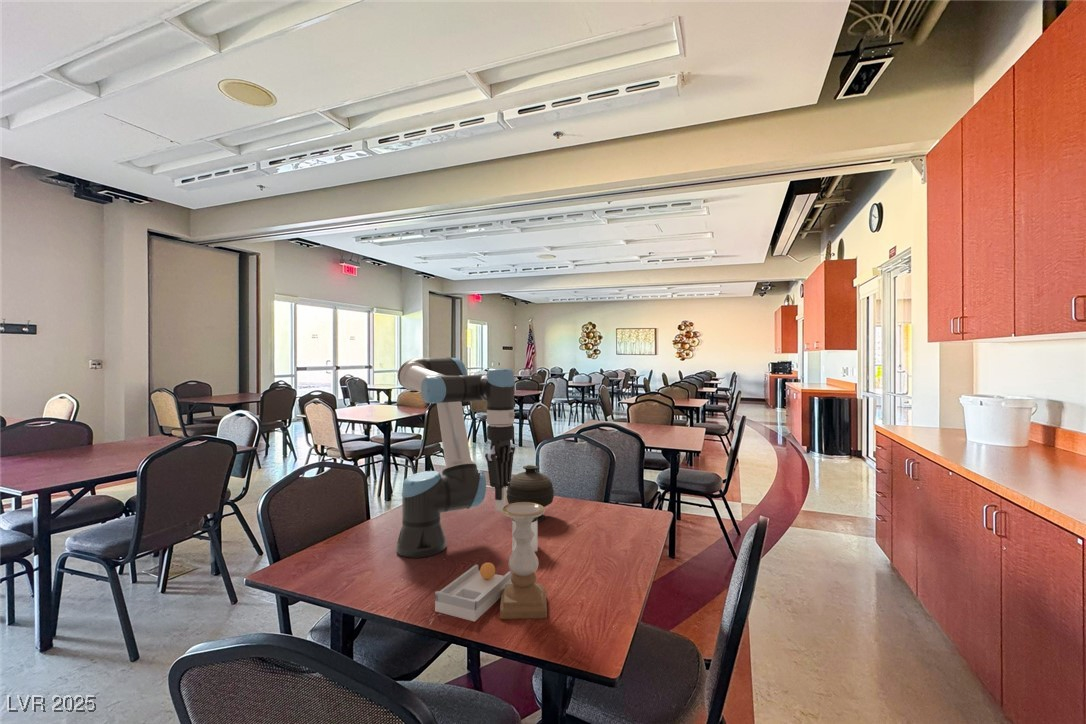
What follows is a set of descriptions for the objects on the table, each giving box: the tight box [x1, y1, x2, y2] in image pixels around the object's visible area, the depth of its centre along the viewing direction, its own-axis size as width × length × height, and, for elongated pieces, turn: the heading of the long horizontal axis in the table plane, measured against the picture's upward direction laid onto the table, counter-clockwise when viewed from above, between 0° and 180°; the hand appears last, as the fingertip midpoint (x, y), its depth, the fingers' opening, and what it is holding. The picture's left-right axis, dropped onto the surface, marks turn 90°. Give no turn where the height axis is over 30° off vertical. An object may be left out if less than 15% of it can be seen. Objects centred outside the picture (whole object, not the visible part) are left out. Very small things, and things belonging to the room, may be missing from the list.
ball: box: [479, 562, 496, 579], centre depth 124 cm, size 4×4×4 cm
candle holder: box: [499, 502, 548, 620], centre depth 115 cm, size 11×11×24 cm
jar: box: [511, 517, 539, 553], centre depth 150 cm, size 9×8×12 cm
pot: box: [506, 464, 555, 522], centre depth 179 cm, size 18×18×20 cm
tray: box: [434, 564, 513, 622], centre depth 118 cm, size 11×18×4 cm, turn 156°
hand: (500, 510), depth 130 cm, fingers closed
